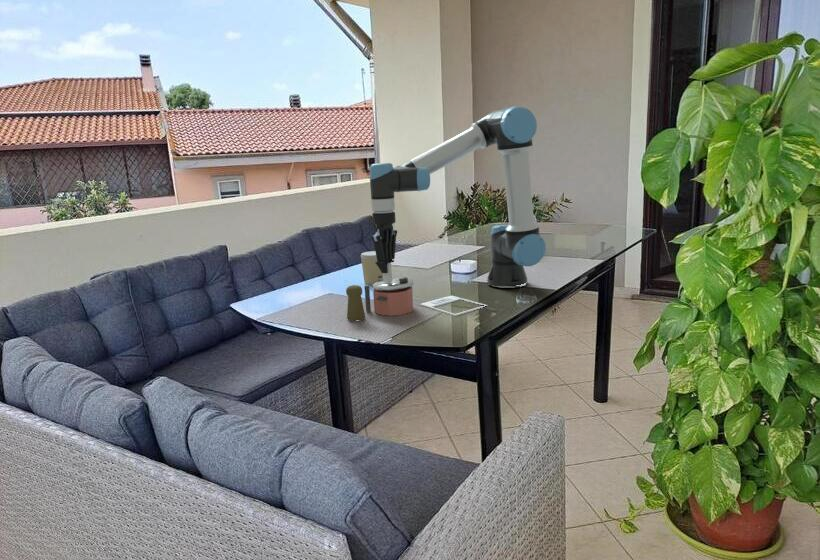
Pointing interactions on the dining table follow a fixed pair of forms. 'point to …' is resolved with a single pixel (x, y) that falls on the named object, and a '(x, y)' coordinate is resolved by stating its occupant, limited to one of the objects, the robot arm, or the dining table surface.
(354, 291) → the cork
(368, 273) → the coffee cup
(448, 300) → the photo frame
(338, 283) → the dining table surface
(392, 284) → the lid
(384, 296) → the pot
